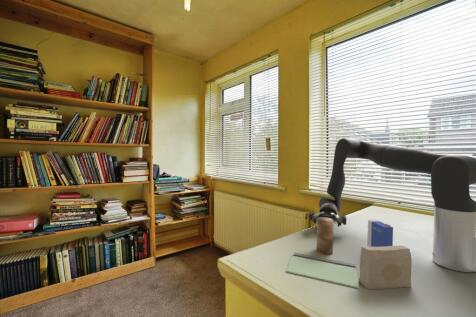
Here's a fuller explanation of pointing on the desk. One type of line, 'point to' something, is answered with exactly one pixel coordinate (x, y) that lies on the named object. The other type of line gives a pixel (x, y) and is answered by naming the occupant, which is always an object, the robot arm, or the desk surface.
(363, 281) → the fossil
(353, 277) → the mat
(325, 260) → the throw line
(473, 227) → the robot arm
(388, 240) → the walkman
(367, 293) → the desk surface
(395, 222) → the desk surface
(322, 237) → the spiral cardboard tube
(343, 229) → the desk surface
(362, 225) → the desk surface
